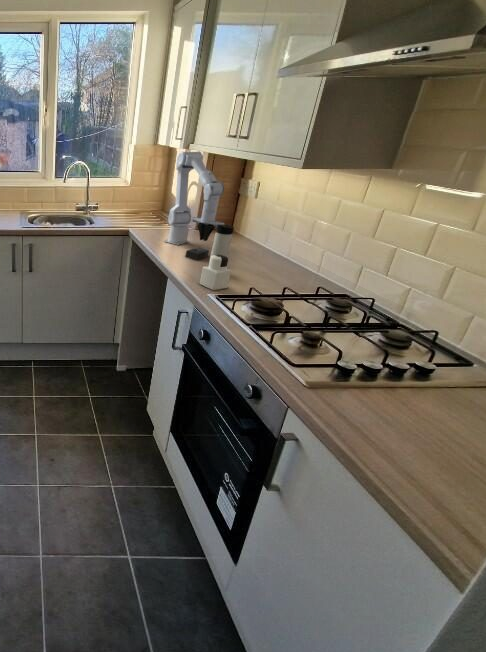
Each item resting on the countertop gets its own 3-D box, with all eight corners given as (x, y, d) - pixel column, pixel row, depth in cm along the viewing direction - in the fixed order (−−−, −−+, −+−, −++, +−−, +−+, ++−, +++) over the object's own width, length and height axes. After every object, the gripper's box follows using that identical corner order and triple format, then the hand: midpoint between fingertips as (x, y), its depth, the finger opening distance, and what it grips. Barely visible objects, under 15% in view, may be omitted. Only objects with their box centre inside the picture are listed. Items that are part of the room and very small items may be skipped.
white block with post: (213, 281, 162) (219, 252, 157) (227, 288, 156) (234, 257, 151) (199, 284, 160) (205, 254, 155) (213, 290, 154) (219, 260, 149)
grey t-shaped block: (198, 253, 196) (199, 247, 195) (207, 256, 192) (209, 249, 191) (190, 255, 193) (191, 249, 191) (200, 258, 189) (201, 252, 188)
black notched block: (192, 254, 194) (193, 248, 193) (203, 258, 190) (205, 251, 188) (185, 256, 191) (186, 250, 190) (197, 260, 187) (198, 253, 185)
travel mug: (203, 270, 174) (213, 223, 166) (214, 268, 177) (225, 222, 168) (215, 275, 169) (226, 227, 161) (227, 273, 172) (238, 225, 163)
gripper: (189, 208, 187) (184, 238, 193) (220, 214, 177) (213, 245, 183) (198, 207, 191) (192, 235, 197) (228, 212, 181) (222, 242, 186)
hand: (203, 240), depth 190 cm, fingers closed
